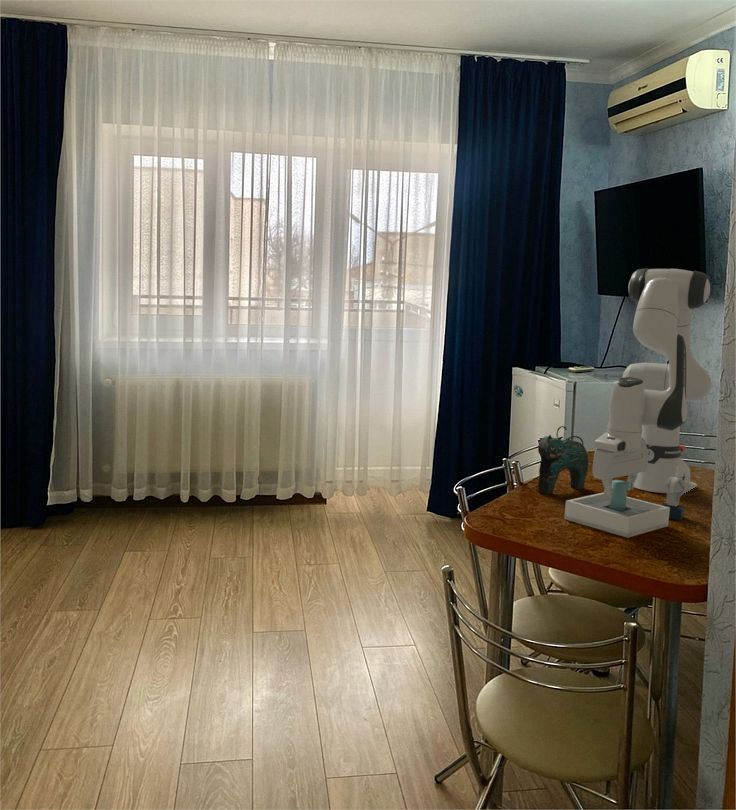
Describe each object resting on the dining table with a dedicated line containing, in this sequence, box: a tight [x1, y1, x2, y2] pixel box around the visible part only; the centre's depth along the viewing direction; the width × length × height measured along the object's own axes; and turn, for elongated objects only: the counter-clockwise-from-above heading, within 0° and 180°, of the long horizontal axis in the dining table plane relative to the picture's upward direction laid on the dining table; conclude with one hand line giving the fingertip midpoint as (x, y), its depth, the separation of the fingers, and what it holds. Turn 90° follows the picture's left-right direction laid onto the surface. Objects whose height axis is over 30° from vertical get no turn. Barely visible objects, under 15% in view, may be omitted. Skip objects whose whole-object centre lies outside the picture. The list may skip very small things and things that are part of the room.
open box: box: [563, 492, 670, 539], centre depth 221 cm, size 19×19×5 cm
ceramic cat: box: [537, 425, 589, 495], centre depth 252 cm, size 20×6×20 cm, turn 126°
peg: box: [609, 479, 628, 512], centre depth 220 cm, size 4×4×10 cm
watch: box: [661, 477, 686, 521], centre depth 229 cm, size 6×8×11 cm
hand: (618, 491), depth 220 cm, fingers open, 8 cm apart
